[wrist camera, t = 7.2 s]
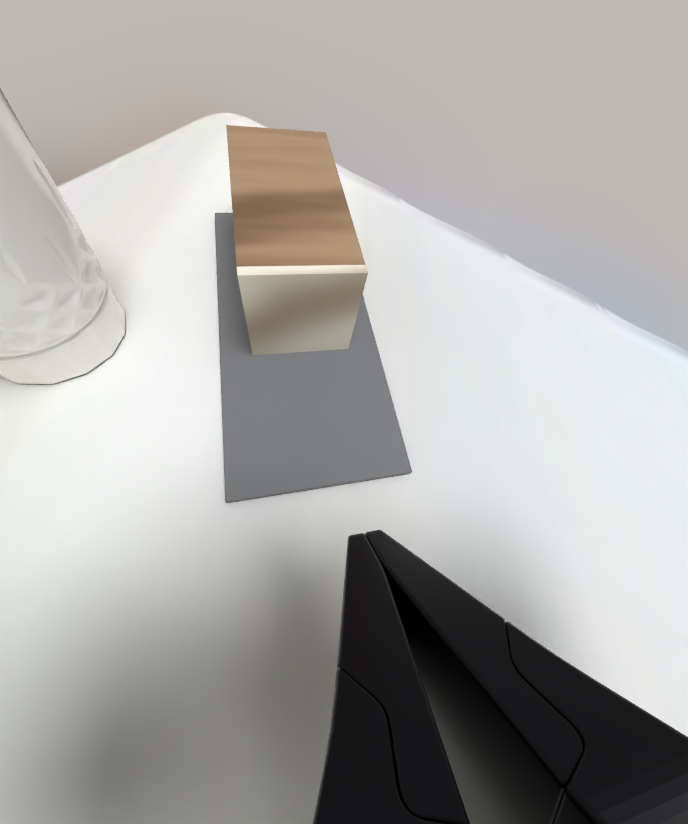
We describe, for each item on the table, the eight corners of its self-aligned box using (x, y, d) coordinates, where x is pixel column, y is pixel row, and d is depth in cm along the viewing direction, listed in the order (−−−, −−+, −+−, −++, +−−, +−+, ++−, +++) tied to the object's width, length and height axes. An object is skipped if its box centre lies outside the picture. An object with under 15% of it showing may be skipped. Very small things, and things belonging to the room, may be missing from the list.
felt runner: (409, 473, 17) (411, 471, 16) (227, 503, 15) (225, 501, 14) (339, 220, 25) (340, 215, 24) (216, 218, 23) (214, 212, 22)
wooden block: (367, 272, 14) (325, 132, 19) (237, 275, 13) (226, 125, 17) (348, 348, 19) (318, 222, 24) (252, 355, 18) (241, 222, 22)
